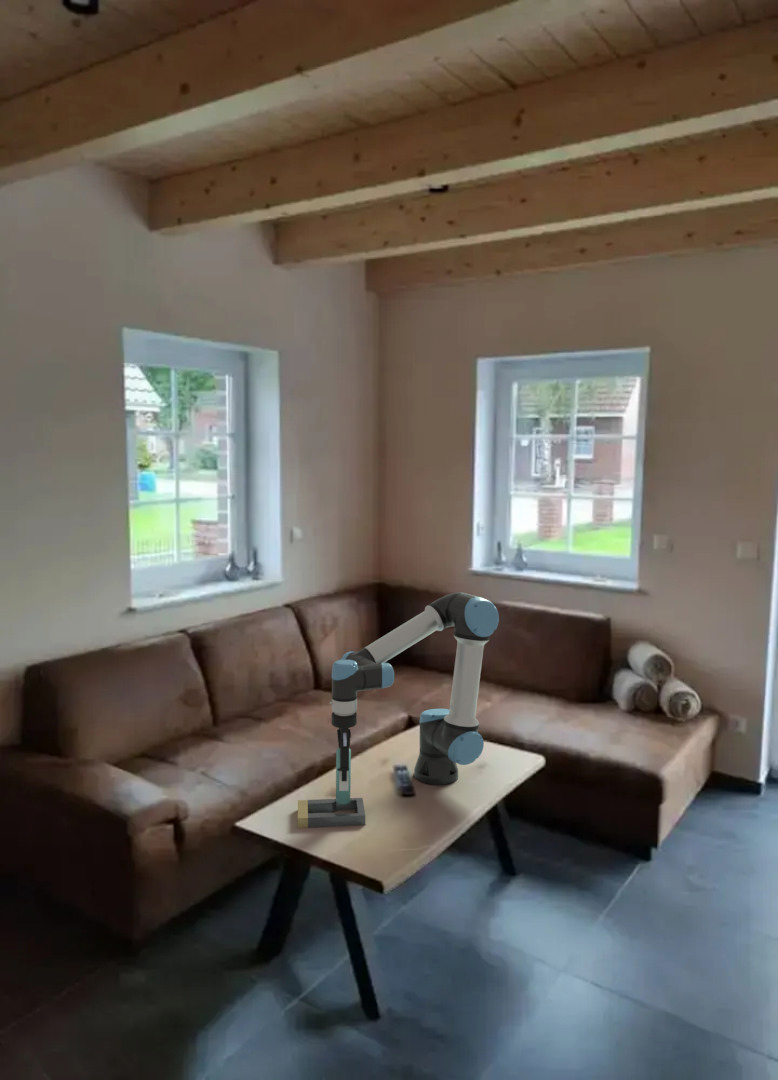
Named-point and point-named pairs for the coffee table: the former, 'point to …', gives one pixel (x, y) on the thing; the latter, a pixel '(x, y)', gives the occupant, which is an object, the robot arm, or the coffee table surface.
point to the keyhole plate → (324, 819)
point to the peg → (341, 796)
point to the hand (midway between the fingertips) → (343, 786)
